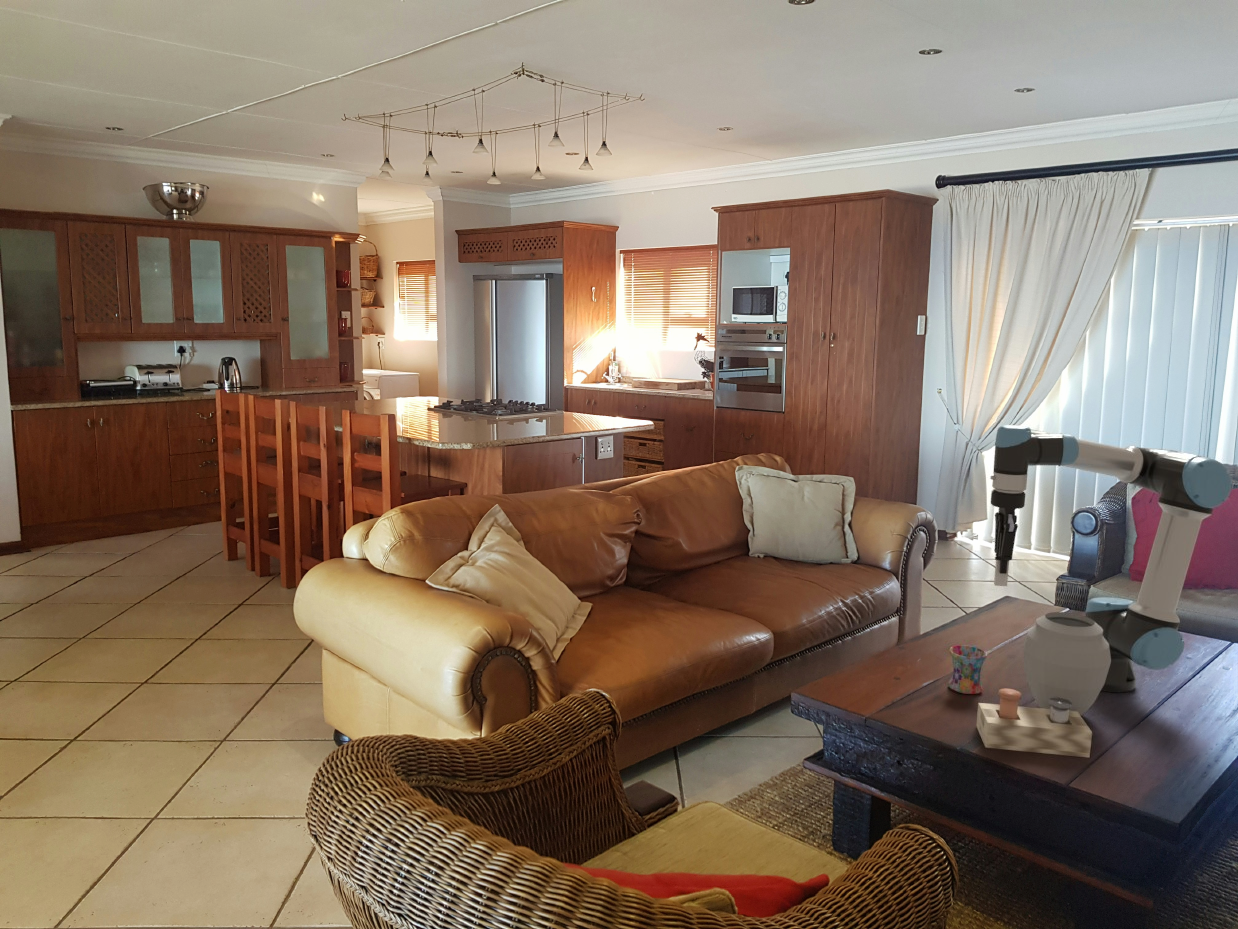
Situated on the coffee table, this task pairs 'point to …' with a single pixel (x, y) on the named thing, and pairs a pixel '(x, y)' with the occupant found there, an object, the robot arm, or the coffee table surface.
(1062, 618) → the vase
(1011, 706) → the terracotta plug
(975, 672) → the mug
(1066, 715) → the grey plug
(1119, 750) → the coffee table surface
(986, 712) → the block
